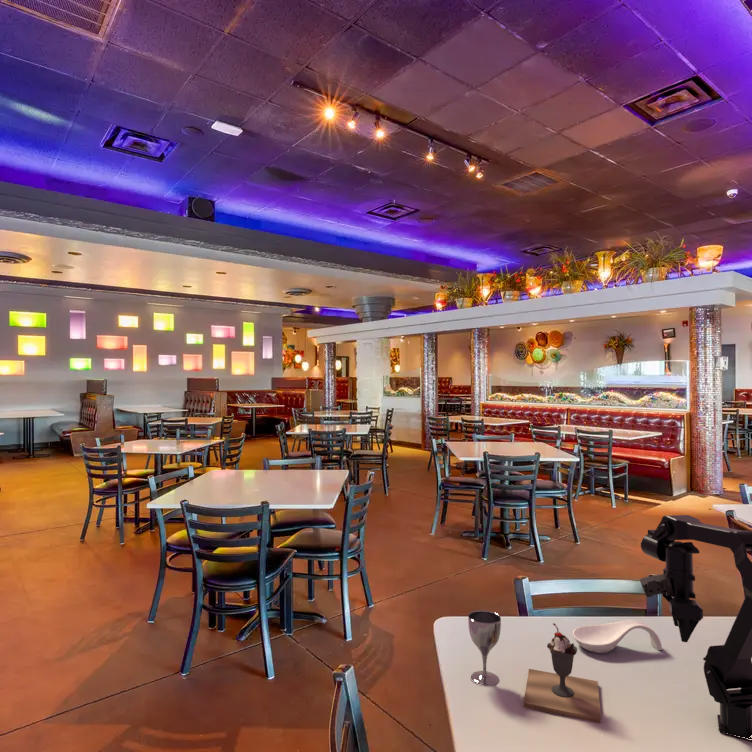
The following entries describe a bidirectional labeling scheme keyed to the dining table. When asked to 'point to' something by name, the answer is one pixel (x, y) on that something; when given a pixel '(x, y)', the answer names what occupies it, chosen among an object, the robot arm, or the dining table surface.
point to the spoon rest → (610, 635)
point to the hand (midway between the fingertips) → (680, 633)
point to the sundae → (562, 661)
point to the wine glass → (484, 641)
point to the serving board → (575, 706)
